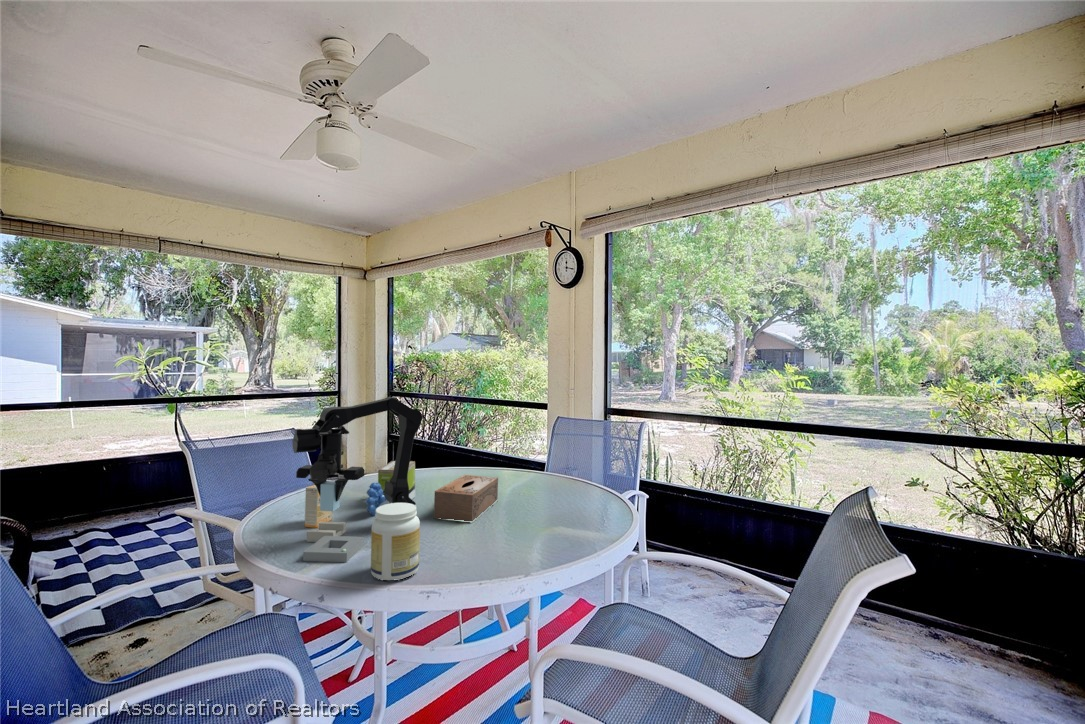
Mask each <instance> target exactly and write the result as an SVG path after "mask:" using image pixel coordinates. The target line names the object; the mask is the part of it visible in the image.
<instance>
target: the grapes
mask: <svg viewBox="0 0 1085 724" xmlns="http://www.w3.org/2000/svg"><path fill="white" fill-rule="evenodd" d="M381 487H382V486H381V485H380V484H379V483H378V482H372V483H371V484H370V485H369V486H368V488H369V489H367V491H366V494H367V496H368V497H367V498H365V504H367V506H366V510H367V512H368V513H369V514H370V515H372V516H375V514H376V509H377V508H378V507H380V505H381V503H384V502H385V501H386V498H385V495H382V494H383V490H382V489H381Z"/></svg>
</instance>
